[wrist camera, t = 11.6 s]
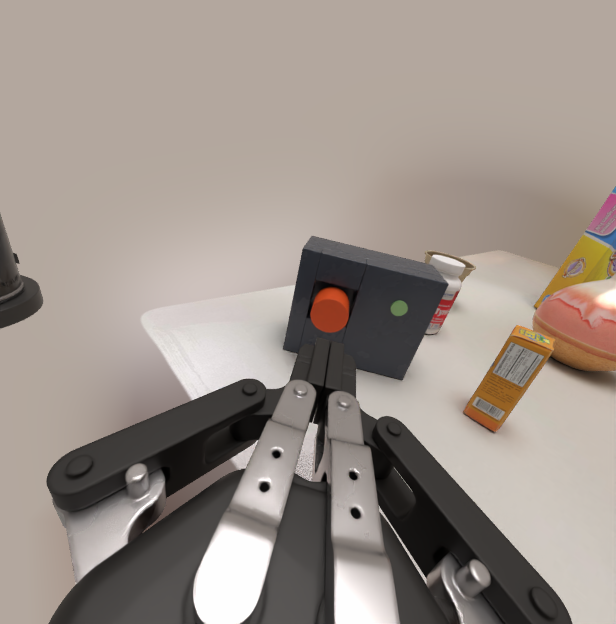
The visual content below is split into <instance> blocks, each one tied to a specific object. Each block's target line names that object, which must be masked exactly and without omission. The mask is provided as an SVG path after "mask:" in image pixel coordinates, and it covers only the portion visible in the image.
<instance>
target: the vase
mask: <svg viewBox="0 0 616 624" xmlns="http://www.w3.org/2000/svg"><path fill="white" fill-rule="evenodd" d="M532 324H533V331H535V332H538V333H541V334H543V335H545V336H548V337H551V338H553V339H555V343H554V345H553V348H554V351H552V354H551V355H550V356H551V357H553V358H554V359H556V360H558V361H560V362H561V363H563V364H566V365H568V366H570V367H573V368H576V369H579V370H583V371H616V273H615V274H614V275H613V276H612V277H611V278H610V279H605V280H599V281H592V282H586V283H581V284H576V285H573V286H569V287H566V288H564V289H561V290H559V291H557V292H555V293H553V294H552V295H550V296H549V297H548V298H547V299H545V300H544V301H543V302H542V303H541V304H540V306H539V307H538V308H537V310H536V311H535V313H534V316H533V323H532Z"/></svg>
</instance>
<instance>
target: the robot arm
mask: <svg viewBox="0 0 616 624" xmlns="http://www.w3.org/2000/svg"><path fill="white" fill-rule="evenodd" d="M16 263H19V260H18V257H17V254H15V253H13V252H12V249H11V246H10V242H9V239H8V236H7V233H6V230H5V227H4V224H3V221H2V217H1V214H0V304H2V303H5V302H8V301H10V300H12V299H14V298H16V297H18V296H19V295H20V294H21V293H22V292H23V291H24V289H25V286H24V283H23V280H22V279H21V277H20V274H19V271H18V268H17V265H16ZM314 415H315V416H314ZM313 418H314V422H313V423H314V424H318V431H317V434H316V437H315V442H314V457H313V472H312V482H311V481H307V480H306V479H304V478H302V477H300V476H299V475H297V474H295V469H296V465H297V462H298V458H299V455H300V451H301V448H302V444H303V441H304V437H305V434H306V431H307V428H308V425H309V422H311V423H312V421H313ZM257 440H259V441H258V443H257V445H256V447H255V450H254V452H253V454H252V456H251V458H250V461H249V463H248V465H247V467H246V469H241V470H237V471H234V472H232V473H229V474H227V475H226V476H223V477H222V478H220V479H219V480H218V481H216V482H215V483H213V484H212V485H210V486H209V487H208V488H206V489H205V490H203V491H202V492H201V493H199V494H198V495H196V496H195V497H193V498H192V499H190V500H189V501H188V502H186V503H185V504H183V505H182V506H180V507H179V508H178V509H176V510H175V511H173V512H172V513H171V514H169V515H168V516H166V517H165V518H163V519H162V520H161V521H159V522H158V523H156V524H155V525H153V526H152V527H151V528H150V529H148V530H146V531H145V532H144V533H143V531H144V530H145V529H146V528H147V527H148V526H150V525H151V524H152V523H153V522H155V521H156V520H157V518H158V517H159V516H160V515H161V513H162V512H163V510H164V507H165V504H166V498H167V497H169V496H170V495H172V494H174V493H175V492H177V491H178V490H180V489H182V488H183V487H185V486H186V485H188V484H190V483H191V482H193V481H195V480H196V479H198V478H199V477H201V476H203V475H204V474H206V473H207V472H209V471H211V470H212V469H214V468H215V467H217V466H219V465H220V464H222V463H224V462H225V461H227V460H229V459H230V458H232V457H233V456H235V455H237V454H238V453H240V452H242V451H243V450H245V449H246V448H248V447H250V446H251V445H253V444H254V443H255V442H256V441H257ZM394 468H395V469H396V470H397V471H398V473H399V474H400V475H401V476H400V475H399V474H398V473H397V471H396V470H395V469H394ZM401 477H402V478H403V479H404V480H403V479H402V478H401ZM404 481H405V482H406V483H407V484H406V483H405V482H404ZM407 485H408V486H409V487H410V488H411V490H412V491H413V492H412V491H411V490H410V488H409V487H408V486H407ZM47 486H48V489H49V491H50V493H51V495H52V497H53V505H54V507H55V509H56V511H57V514H58V516H59V518H60V520H61V522H62V524H63V526H64V527H65V528H66V530H67V536H68V541H69V546H70V552H71V558H72V564H73V570H74V576H75V581H76V585H75V586H74V587H73V588H72V590H71V591H70V592H69V593H68V594H67V596H66V597H65V598H64V600H63V601H62V602H61V604H60V605H59V607H58V609H57V610H56V612H55V613H54V615H53V616H52V618H51V620H50V622H49V624H572V621H571V618H570V615H569V613H568V611H567V609H566V607H565V605H564V604H563V602H562V601H561V599H560V598H559V596H558V595H557V594H556V592H555V591H554V590H553V589H552V588H551V587H550V586H549V584H548V583H547V582H546V581H545V580H544V579H543V578H542V577H541V576H540V574H539V573H538V572H537V571H536V570H535V569H534V568H533V567H532V566H531V565H530V563H529V562H528V561H527V560H526V559H525V558H524V557H523V556H522V555H521V553H520V552H519V551H518V550H517V549H516V548H515V547H514V546H513V545H512V544H511V542H510V541H509V540H508V539H507V538H506V537H505V536H504V535H503V534H502V532H501V531H500V530H499V529H498V528H497V527H496V526H495V525H494V524H493V522H492V521H491V520H490V519H489V518H488V517H487V516H486V515H485V514H484V513H483V511H482V510H481V509H480V508H479V507H478V506H477V505H476V504H475V503H474V501H473V500H472V499H471V498H470V497H469V496H468V495H467V494H466V493H465V491H464V490H463V489H462V488H461V487H460V486H459V485H458V484H457V483H456V482H455V480H454V479H453V478H452V477H451V476H450V475H449V474H448V473H447V472H446V470H445V469H444V468H443V467H442V466H441V465H440V464H439V463H438V462H437V461H436V459H435V458H434V457H433V456H432V455H431V454H430V453H429V452H428V451H427V449H426V448H425V447H424V446H423V445H422V444H421V443H420V442H419V441H418V439H417V438H416V437H415V436H414V435H413V434H412V433H411V432H410V431H409V430H408V428H407V427H406V426H405V425H404V424H403V423H402V422H400V421H399V420H397V419H395V418H393V417H389V416H384V417H381V418H379V419H378V420H377V419H375V418H373V417H371V416H369V415H368V414H366V413H365V412H364V411H363V410H362V409H361V408H360V405H359V402H358V401H357V399H356V363H355V361H354V359H353V357H352V356H351V355H347V354H344V344H342V343H338V342H334V341H331V342H330V340H326V339H323V338H319V337H317V339H316V343H315V346H313V345H309V344H304V345H303V346H302V347H301V348H300V349H299V352H298V356H297V359H296V362H295V365H294V368H293V371H292V374H291V378H290V381H289V382H288V383H287V384H286V386H284V387H282V388H279V389H266V387H265V386H264V384H263V383H261V382H260V381H258V380H255V379H243V380H240V381H238V382H235V383H233V384H231V385H228V386H226V387H223V388H221V389H219V390H216V391H214V392H211V393H209V394H207V395H204V396H202V397H199V398H197V399H195V400H192V401H190V402H188V403H185V404H183V405H180V406H178V407H176V408H173V409H171V410H168V411H166V412H164V413H161V414H159V415H156V416H154V417H152V418H149V419H147V420H145V421H142V422H140V423H137V424H135V425H132V426H130V427H128V428H126V429H123V430H121V431H118V432H116V433H113V434H111V435H109V436H106V437H104V438H101V439H99V440H97V441H94V442H92V443H89V444H87V445H85V446H82V447H80V448H78V449H75V450H73V451H71V452H69V453H68V454H66V455H65V456H63V457H62V458H61V459H59V460H58V461H57V462H56V463H55V464H54V465H53V467H52V468H51V470H50V471H49V473H48V476H47ZM378 505H379V506H380V508H381V509H382V511H383V512H384V514H385V515H386V517H387V519H388V520H389V522H390V523H391V525H392V526H393V528H394V529H395V531H396V532H397V534H398V535H399V537H400V538H401V540H402V542H403V543H404V545H405V546H406V548H407V549H408V551H409V552H410V554H411V555H412V557H413V558H414V560H415V562H416V563H417V565H418V566H419V568H420V569H421V571H422V572H423V574H424V575H425V577H426V578H427V585H426V583H425V582H424V580H423V579H422V577H421V575H420V574H419V572H418V570H417V569H416V567H415V565H414V564H413V562H412V561H411V559H410V557H409V556H408V554H407V552H406V551H405V549H404V547H403V546H402V544H401V543H400V541H399V539H398V538H397V536H396V534H395V533H394V531H393V529H392V528H391V526H390V525H389V523H388V522H387V521H386V519H385V518H384V517H383V515H382V514H381V513H380V512H379V506H378Z"/></svg>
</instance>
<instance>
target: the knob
mask: <svg viewBox="0 0 616 624" xmlns="http://www.w3.org/2000/svg"><path fill="white" fill-rule="evenodd" d="M310 316H311V320H312V323H313V324H314V325H315V327H316V328H318V329H319V330H321V331H324V332H329V333H332V332H337V331H339V330H341V329H342V328H344V327H345V325H346V324H347V322H348V317H349V299H348V296H347V295H346V293H345V292H344V291H343V290H341V289H339V288H336V287H326V288H324V289H322V290H320V291H319V292H318V293H317V295H316V297H315V300H314V303H313V306H312V309H311V313H310Z"/></svg>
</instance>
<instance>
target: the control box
mask: <svg viewBox="0 0 616 624" xmlns="http://www.w3.org/2000/svg"><path fill="white" fill-rule="evenodd" d="M448 285H449V284H448V283H447V281H446V280H445V279H444V278H443V277H442V275H441V274H440V273H439V272H438V271H437V270H436V268H435V267H434V266H433V265H430V264H426V263H422V262H417V261H414V260H410V259H406V258H401V257H397V256H393V255H389V254H385V253H381V252H377V251H373V250H368V249H364V248H360V247H356V246H352V245H348V244H344V243H340V242H335V241H331V240H327V239H323V238H319V237H315V236H312V237H311V238H310V239H309V241H308V242H307V243H306V245H305V246H304V248H303V250H302V255H301V260H300V266H299V271H298V276H297V281H296V286H295V291H294V296H293V301H292V306H291V311H290V316H289V322H288V327H287V332H286V337H285V342H284V347H283V349H285V350H288V351H292V352H296V353H298V352H299V349H300V348H301V347H302V346H303V345H304V344H309V345H313V346H315V343H316V339H317V337H319V338H323V339H326V340H330V342H331V341H334V342H338V343H342V344H344V354H347V355H351V356H352V357H353V359H354V361H355V363H356V368H358V369H362V370H365V371H369V372H373V373H377V374H381V375H385V376H388V377H392V378H396V379H400V380H403V378H404V376H405V374H406V372H407V369H408V367H409V365H410V363H411V361H412V359H413V357H414V355H415V353H416V351H417V349H418V347H419V345H420V343H421V341H422V339H423V337H424V334H425V332H426V330H427V328H428V326H429V324H430V322H431V320H432V318H433V316H434V314H435V312H436V310H437V308H438V306H439V304H440V302H441V299H442V297H443V295H444V293H445V291H446V289H447V287H448ZM326 287H336V288H339V289H341V290H343V291H344V292H345V293H346V295H347V296H348V299H349V317H348V322H347V324H346V325H345V327H344V328H342V329H341V330H339V331H337V332H332V333H329V332H324V331H321V330H319V329H318V328H316V327H315V325H314V324H313V323H312V320H311V316H310V313H311V309H312V306H313V303H314V300H315V297H316V295H317V293H318V292H319V291H320V290H322V289H324V288H326Z"/></svg>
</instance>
